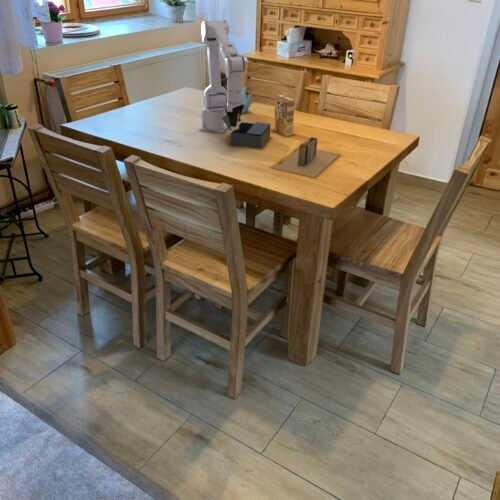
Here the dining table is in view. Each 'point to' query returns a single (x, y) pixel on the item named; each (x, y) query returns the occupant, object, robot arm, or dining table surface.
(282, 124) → the candy box
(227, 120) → the flap
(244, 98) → the teapot
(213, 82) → the robot arm
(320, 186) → the dining table surface
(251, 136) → the carton
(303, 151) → the architectural model on board
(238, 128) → the red-banded cylinder
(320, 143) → the dining table surface
